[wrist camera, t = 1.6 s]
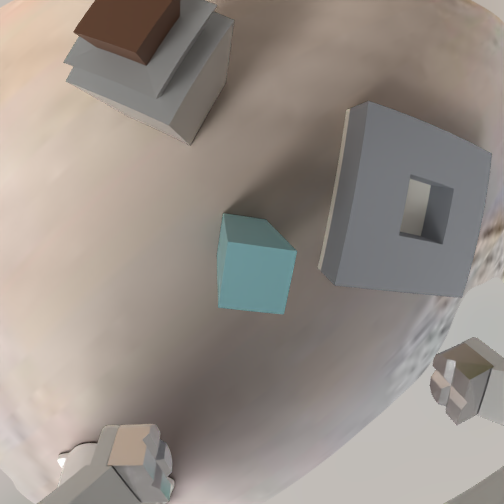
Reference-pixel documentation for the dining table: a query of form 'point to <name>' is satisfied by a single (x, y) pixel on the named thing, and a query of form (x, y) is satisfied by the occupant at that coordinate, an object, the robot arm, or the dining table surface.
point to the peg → (253, 265)
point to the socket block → (404, 205)
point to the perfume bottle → (154, 60)
